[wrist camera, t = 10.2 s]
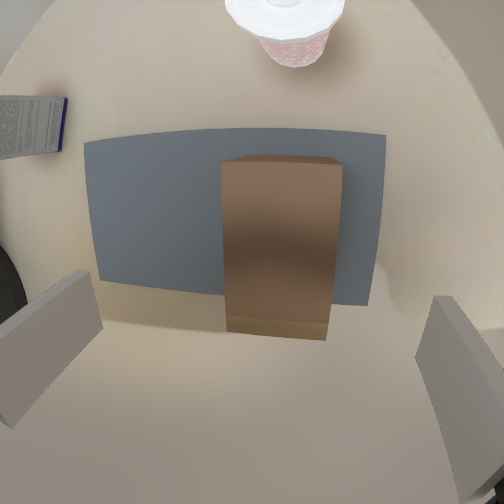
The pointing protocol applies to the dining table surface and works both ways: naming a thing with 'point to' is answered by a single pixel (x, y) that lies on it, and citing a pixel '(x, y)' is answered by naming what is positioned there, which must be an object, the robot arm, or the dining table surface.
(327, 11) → the beverage cup
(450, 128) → the dining table surface
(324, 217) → the walnut block
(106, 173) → the slate mat
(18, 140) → the supplement box
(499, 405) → the robot arm
